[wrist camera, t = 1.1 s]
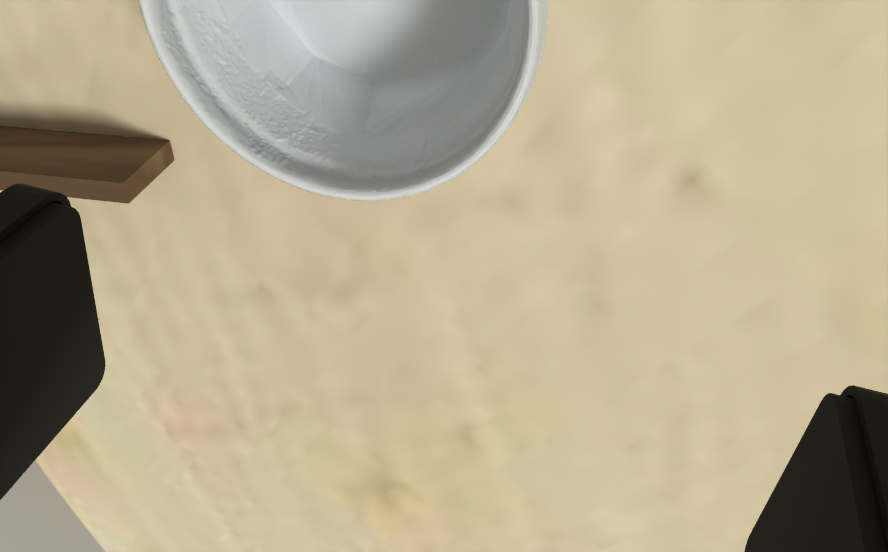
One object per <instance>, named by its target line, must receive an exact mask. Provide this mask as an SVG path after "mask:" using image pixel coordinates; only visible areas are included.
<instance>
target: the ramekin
mask: <svg viewBox="0 0 888 552" xmlns="http://www.w3.org/2000/svg"><path fill="white" fill-rule="evenodd" d="M139 2H140V7H141V12H142V16H143V19H144V22H145V25H146V28H147V31H148V33H149V36H150V39H151V41H152V44H153V47H154V49H155V51H156V53H157V55H158V57H159V59H160V61H161V63H162V65H163V67H164V69H165V71H166V72H167V74H168V76H169V78H170V79H171V81H172V83H173V84H174V86H175V87H176V89H177V90H178V92H179V93H180V94H181V96H182V97H183V99H184V100H185V101H186V103H187V104H188V105H189V107H190V108H191V109H192V111H193V112H194V113H195V114H196V115H197V116H198V118H199V119H200V120H201V121H202V122H203V123H204V124H205V125H206V126H207V127H208V128H209V129H210V130H211V131H212V132H213V133H214V134H215V135H216V136H217V137H218V138H219V139H220V140H221V141H222V142H224V143H225V144H226V145H227V146H228V147H229V148H231V149H232V150H233V151H234V152H236V153H237V154H238V155H240V156H241V157H242V158H244V159H245V160H247V161H248V162H250V163H251V164H253V165H254V166H256V167H257V168H259V169H260V170H262V171H264V172H266V173H267V174H269V175H271V176H273V177H275V178H277V179H279V180H281V181H283V182H285V183H287V184H290V185H292V186H295V187H297V188H300V189H303V190H306V191H309V192H312V193H316V194H319V195H324V196H328V197H332V198H338V199H346V200H355V201H381V200H391V199H398V198H404V197H408V196H412V195H416V194H419V193H423V192H426V191H428V190H431V189H433V188H436V187H438V186H440V185H442V184H444V183H446V182H448V181H450V180H452V179H454V178H456V177H457V176H459V175H460V174H462V173H463V172H465V171H466V170H468V169H469V168H471V167H472V166H473V165H475V164H476V163H477V162H478V161H480V160H481V159H482V158H483V157H484V156H485V155H486V154H487V153H488V152H489V151H490V150H491V149H492V148H493V147H494V146H495V145H496V144H497V142H498V141H499V140H500V139H501V138H502V136H503V135H504V134H505V132H506V131H507V130H508V128H509V127H510V125H511V124H512V122H513V121H514V119H515V118H516V116H517V114H518V112H519V111H520V109H521V107H522V106H523V104H524V102H525V100H526V98H527V96H528V94H529V92H530V89H531V87H532V84H533V82H534V80H535V77H536V74H537V71H538V68H539V65H540V61H541V58H542V54H543V49H544V44H545V38H546V31H547V19H548V0H139Z"/></svg>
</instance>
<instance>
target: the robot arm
mask: <svg viewBox="0 0 888 552" xmlns="http://www.w3.org/2000/svg"><path fill="white" fill-rule="evenodd" d="M104 371H105V357H104V351H103V346H102V340H101V334H100V328H99V322H98V317H97V311H96V305H95V299H94V293H93V288H92V282H91V276H90V270H89V264H88V258H87V253H86V247H85V241H84V235H83V229H82V224H81V218H80V215H79V213H78V211H77V210H76V209H74V208H72V207H71V205H70V202H69V200H68V199H67V197H66V196H65V195H63V194H61V193H59V192H55V191H51V190H47V189H43V188H38V187H34V186H30V185H26V184H14V185H12V186H10V187H8V188H6V189H5V190H4V191H2V192H1V193H0V500H1V498H3V496H4V495H5V494H6V493H7V492H8V491H9V489H10V488H11V487H12V486H13V485H14V484H15V482H16V481H17V480H18V479H19V478H20V477H21V476H22V474H23V473H24V472H25V471H26V470H27V469H28V468H29V466H30V465H31V464H32V463H33V461H35V459H36V458H37V457H38V456H39V455H40V454H41V453H42V451H43V450H44V449H45V448H46V447H47V446H48V444H49V443H50V442H51V441H52V440H53V439H54V438H55V436H56V435H57V434H58V433H59V432H60V431H61V429H62V428H63V427H64V426H65V425H66V424H67V423H68V421H69V420H70V419H71V418H72V417H73V416H74V414H75V413H76V412H77V411H78V410H79V409H80V408H81V406H82V405H83V404H84V403H85V402H86V401H87V399H88V398H89V397H90V396H91V395H92V394H93V393H94V391H95V390H96V389H97V387H98V386H99V384H100V382H101V380H102V378H103V375H104ZM745 552H888V394H886V393H882V392H878V391H873V390H869V389H865V388H861V387H857V386H848V387H847V388H846V389H845V390H844V391H843V392H842V394H841V395H836V394H832V393H829V394H827V395H826V396H825V397H824V398H823V400H822V401H821V403H820V405H819V407H818V408H817V410H816V412H815V414H814V416H813V418H812V420H811V421H810V423H809V425H808V427H807V429H806V431H805V433H804V435H803V436H802V438H801V440H800V442H799V444H798V446H797V448H796V450H795V451H794V453H793V455H792V457H791V459H790V461H789V463H788V464H787V466H786V468H785V470H784V472H783V474H782V476H781V478H780V479H779V481H778V483H777V485H776V487H775V489H774V491H773V493H772V494H771V496H770V498H769V500H768V502H767V504H766V506H765V508H764V509H763V511H762V513H761V515H760V517H759V519H758V521H757V522H756V524H755V526H754V528H753V530H752V532H751V534H750V536H749V538H748V541H747V544H746V547H745Z"/></svg>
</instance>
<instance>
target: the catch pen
mask: <svg viewBox="0 0 888 552" xmlns="http://www.w3.org/2000/svg"><path fill="white" fill-rule="evenodd" d="M173 161H174V156H173V152H172V148H171V144H170V141H166V140H154V139H143V138H131V137H119V136H107V135H96V134H84V133H72V132H60V131H49V130H37V129H25V128H14V127H2V126H0V190H5V189H6V188H8V187H10V186H12V185H14V184H26V185H30V186H34V187H38V188H43V189H47V190H51V191H55V192H59V193H61V194H63V195H65V196H66V197H72V198H82V199H91V200H101V201H110V202H120V203H130V202H131V201H132V200H133V199H134V198H135V197H136V196H137V195H138V194H139V193H140V192H141V191H142V190H143V189H145V188H146V187H147V186H148V185H149V184H150V183H151V182H152V181H153V180H154V179H155V178H156V177H157V176H158V175H159V174H160V173H161V172H162V171H163V170H165V169H166V168H167V167H168V166H169V165H170V164H171V163H172V162H173Z"/></svg>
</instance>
